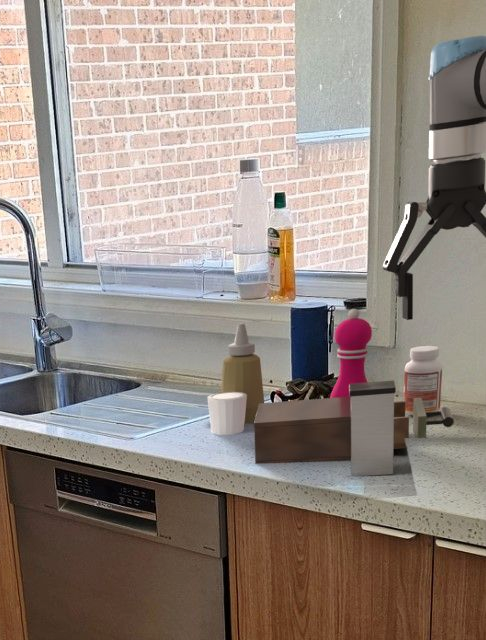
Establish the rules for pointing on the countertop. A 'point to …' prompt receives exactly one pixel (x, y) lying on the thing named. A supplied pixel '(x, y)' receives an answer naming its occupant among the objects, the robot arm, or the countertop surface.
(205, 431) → the countertop surface
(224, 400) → the white tapered cup
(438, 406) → the pill bottle
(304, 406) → the cabinet
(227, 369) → the squeeze bottle
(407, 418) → the drawer
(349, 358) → the pepper mill
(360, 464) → the white rectangular block
